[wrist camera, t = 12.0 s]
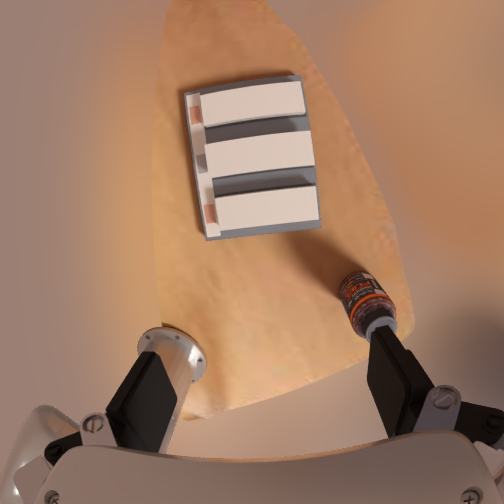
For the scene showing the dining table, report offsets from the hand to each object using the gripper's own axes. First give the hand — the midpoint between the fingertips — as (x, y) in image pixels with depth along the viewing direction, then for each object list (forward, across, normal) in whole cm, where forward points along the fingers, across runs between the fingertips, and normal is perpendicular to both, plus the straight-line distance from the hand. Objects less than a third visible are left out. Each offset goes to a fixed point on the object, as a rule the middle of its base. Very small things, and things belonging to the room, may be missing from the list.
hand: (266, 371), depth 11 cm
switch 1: (+25, -1, -17) cm, 30 cm away
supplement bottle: (+27, -12, +10) cm, 31 cm away
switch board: (+26, 0, -10) cm, 29 cm away
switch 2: (+25, -1, -4) cm, 25 cm away
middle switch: (+24, -1, -10) cm, 26 cm away
